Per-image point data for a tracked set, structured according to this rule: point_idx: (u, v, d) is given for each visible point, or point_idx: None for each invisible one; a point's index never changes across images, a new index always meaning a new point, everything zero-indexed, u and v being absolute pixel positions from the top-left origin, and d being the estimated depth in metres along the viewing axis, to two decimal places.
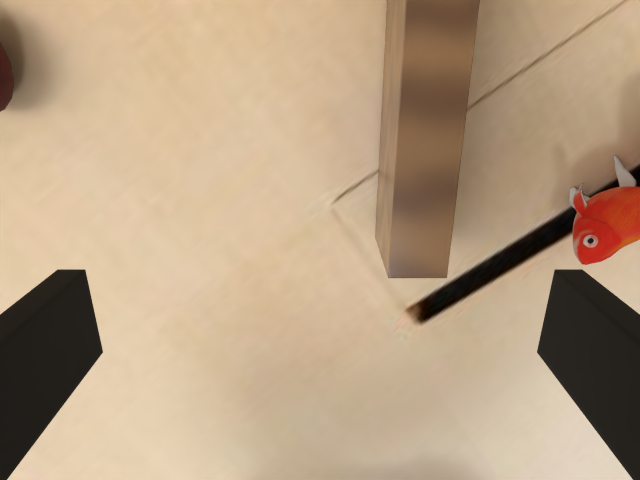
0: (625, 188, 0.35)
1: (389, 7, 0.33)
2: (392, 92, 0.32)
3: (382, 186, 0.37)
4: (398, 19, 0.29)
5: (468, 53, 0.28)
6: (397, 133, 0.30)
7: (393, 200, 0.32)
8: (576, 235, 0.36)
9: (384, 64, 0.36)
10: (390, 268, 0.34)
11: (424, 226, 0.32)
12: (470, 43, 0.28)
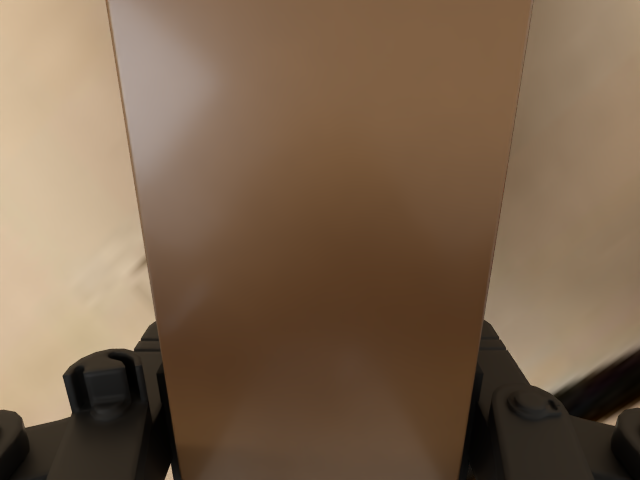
0: None
1: None
2: None
3: None
4: None
5: None
6: None
7: (164, 352, 0.06)
8: None
9: None
10: None
11: (331, 457, 0.07)
12: None
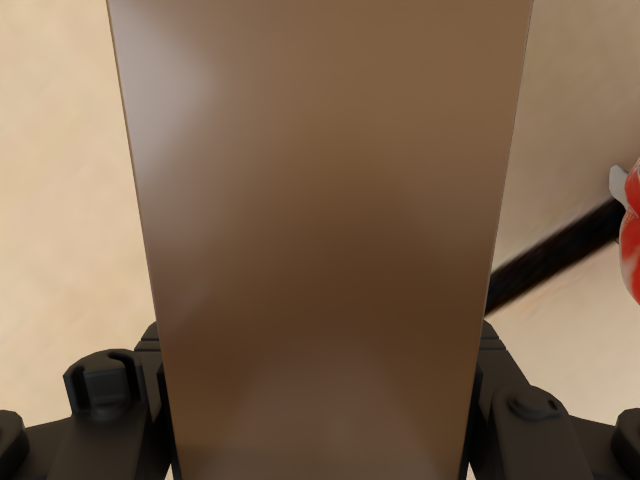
0: None
1: None
2: None
3: None
4: None
5: None
6: None
7: (164, 350, 0.06)
8: (630, 252, 0.19)
9: None
10: None
11: (330, 456, 0.07)
12: None
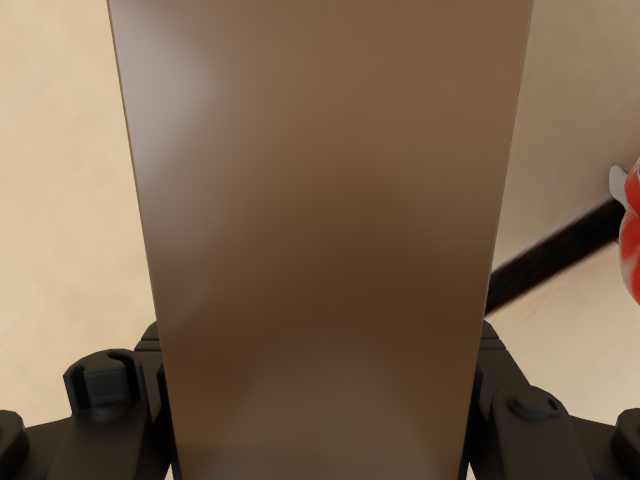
0: None
1: None
2: None
3: None
4: None
5: None
6: None
7: (164, 350, 0.06)
8: (630, 252, 0.19)
9: None
10: None
11: (330, 456, 0.07)
12: None
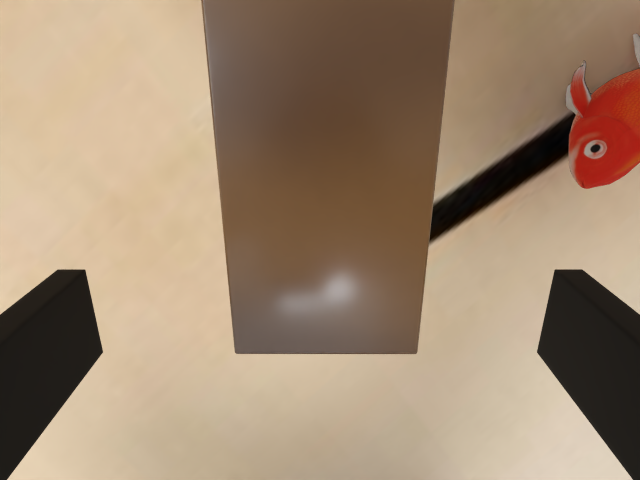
0: None
1: None
2: None
3: None
4: None
5: None
6: None
7: (212, 92, 0.09)
8: (574, 144, 0.24)
9: None
10: (238, 327, 0.11)
11: (335, 189, 0.09)
12: None
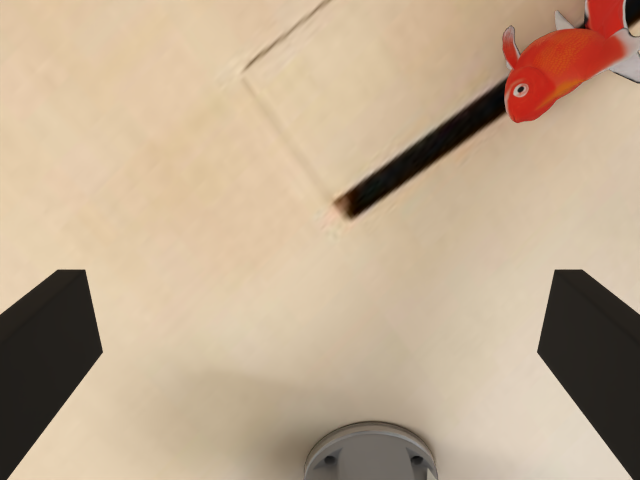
0: (560, 30, 0.31)
1: None
2: None
3: None
4: None
5: None
6: None
7: None
8: (507, 89, 0.32)
9: None
10: None
11: None
12: None
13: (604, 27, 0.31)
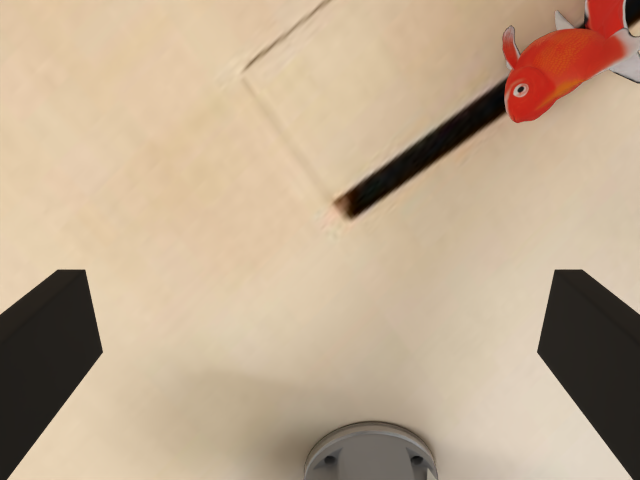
0: (560, 30, 0.31)
1: None
2: None
3: None
4: None
5: None
6: None
7: None
8: (507, 89, 0.32)
9: None
10: None
11: None
12: None
13: (604, 27, 0.31)
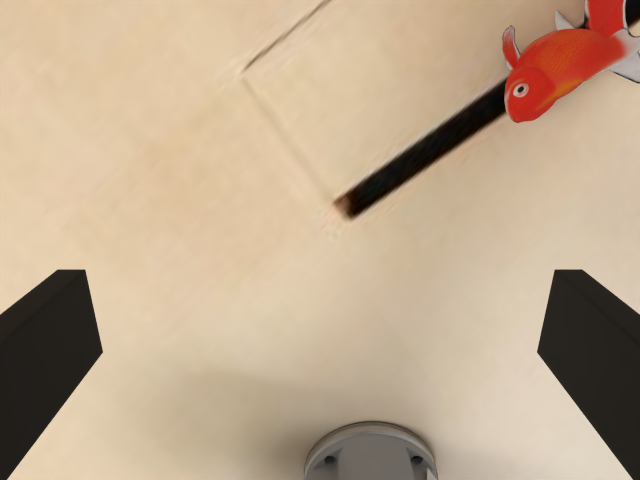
0: (560, 30, 0.31)
1: None
2: None
3: None
4: None
5: None
6: None
7: None
8: (507, 89, 0.32)
9: None
10: None
11: None
12: None
13: (604, 27, 0.31)
